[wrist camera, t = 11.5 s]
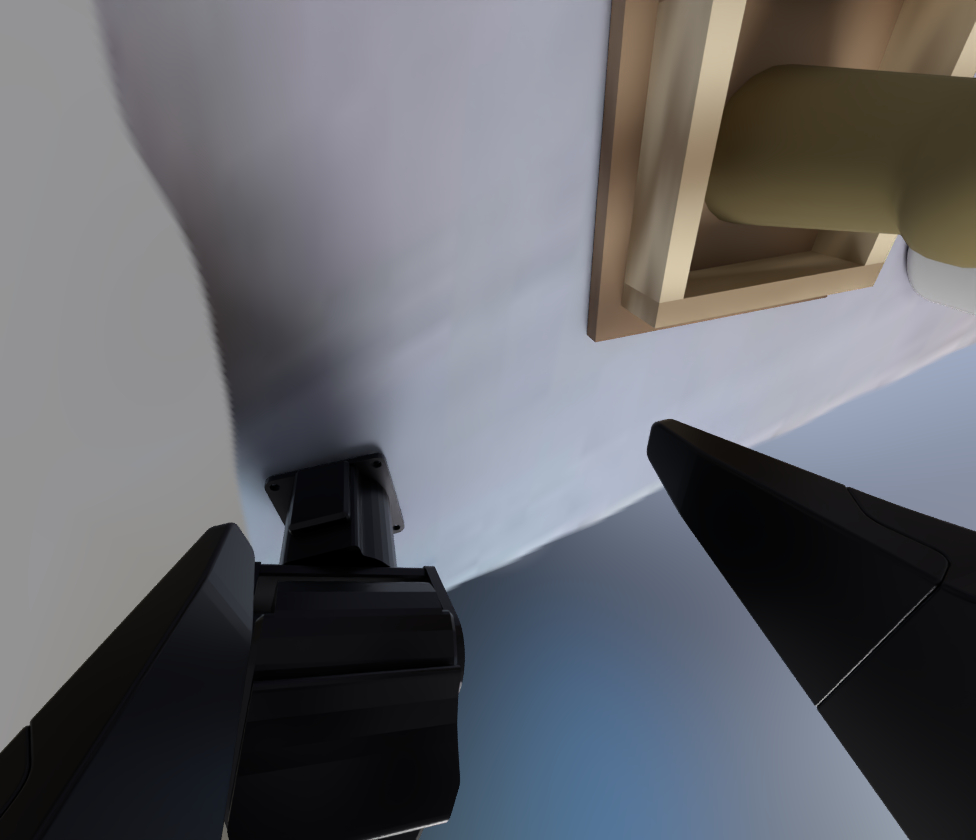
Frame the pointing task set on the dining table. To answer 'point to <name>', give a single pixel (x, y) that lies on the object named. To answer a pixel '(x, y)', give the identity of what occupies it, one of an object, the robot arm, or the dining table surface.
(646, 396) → the dining table surface
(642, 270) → the socket block
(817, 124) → the cork
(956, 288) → the cylinder vase
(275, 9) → the dining table surface
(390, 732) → the robot arm
